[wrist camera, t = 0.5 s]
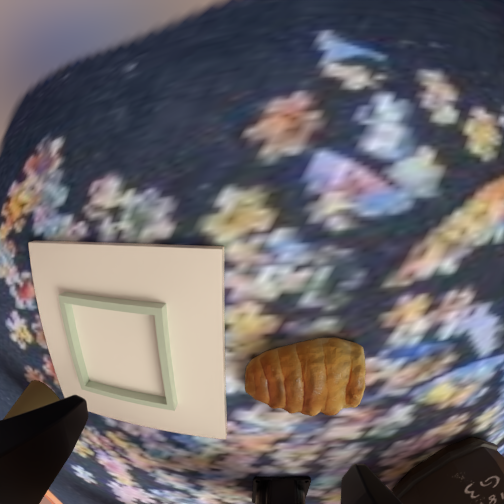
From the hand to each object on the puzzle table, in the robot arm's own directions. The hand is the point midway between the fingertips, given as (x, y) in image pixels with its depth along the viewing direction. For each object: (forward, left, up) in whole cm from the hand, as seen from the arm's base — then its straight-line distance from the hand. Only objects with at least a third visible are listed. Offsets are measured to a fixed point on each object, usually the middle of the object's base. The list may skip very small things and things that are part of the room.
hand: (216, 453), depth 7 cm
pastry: (-6, -5, -15) cm, 17 cm away
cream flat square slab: (-5, +11, -14) cm, 19 cm away
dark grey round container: (-28, -28, -14) cm, 42 cm away
